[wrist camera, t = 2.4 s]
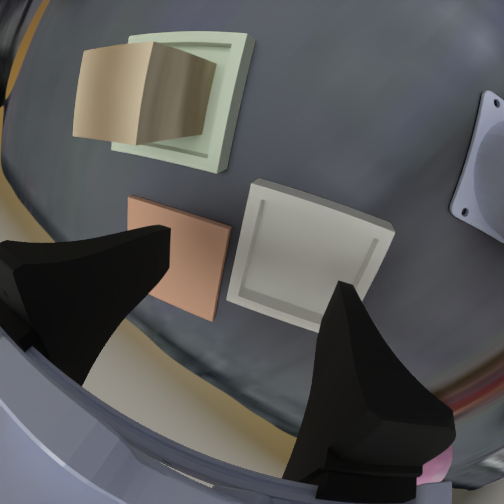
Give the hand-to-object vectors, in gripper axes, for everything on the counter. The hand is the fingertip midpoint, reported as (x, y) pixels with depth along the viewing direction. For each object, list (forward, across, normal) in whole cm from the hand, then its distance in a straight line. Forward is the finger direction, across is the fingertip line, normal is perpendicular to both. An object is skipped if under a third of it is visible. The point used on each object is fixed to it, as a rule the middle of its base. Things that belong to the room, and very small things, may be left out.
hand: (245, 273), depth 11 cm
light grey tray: (+6, -2, +2) cm, 7 cm away
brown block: (+6, +8, -6) cm, 11 cm away
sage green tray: (+6, +8, -6) cm, 12 cm away
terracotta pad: (+6, +7, +5) cm, 10 cm away
